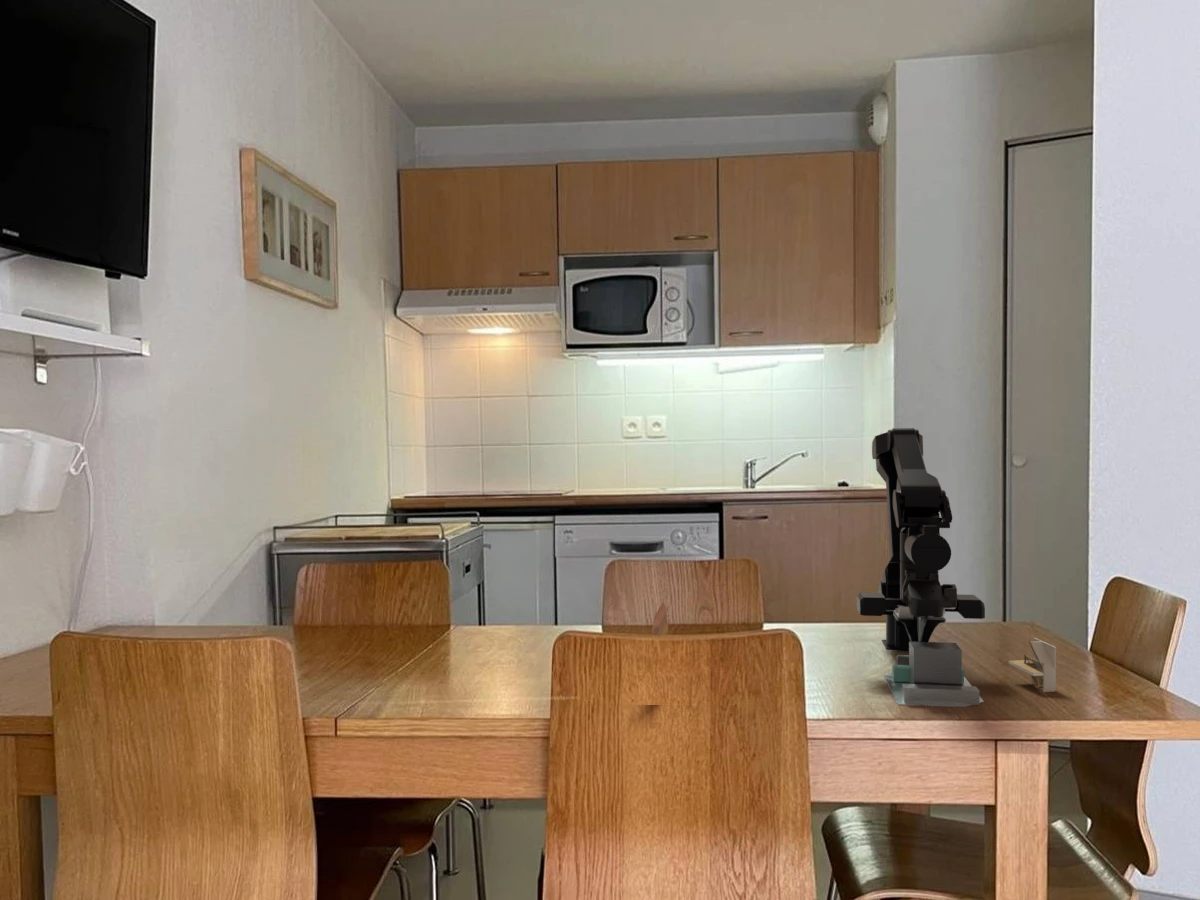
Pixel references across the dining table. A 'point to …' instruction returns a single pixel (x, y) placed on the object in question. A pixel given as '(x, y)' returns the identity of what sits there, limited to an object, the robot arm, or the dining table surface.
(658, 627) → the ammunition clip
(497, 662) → the dining table surface
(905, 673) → the free jaw
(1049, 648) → the architectural model
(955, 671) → the steel block
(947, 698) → the vise base
